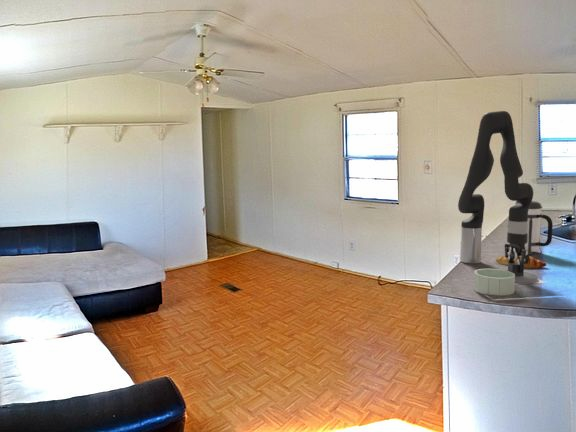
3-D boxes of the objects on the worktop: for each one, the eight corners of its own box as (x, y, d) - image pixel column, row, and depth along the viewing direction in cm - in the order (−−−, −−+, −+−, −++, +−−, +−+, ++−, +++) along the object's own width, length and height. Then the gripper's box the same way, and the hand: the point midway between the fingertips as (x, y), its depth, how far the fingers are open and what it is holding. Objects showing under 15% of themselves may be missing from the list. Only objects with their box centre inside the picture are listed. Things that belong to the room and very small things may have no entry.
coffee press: (512, 255, 223) (515, 197, 218) (508, 249, 238) (510, 194, 233) (551, 257, 217) (554, 197, 213) (543, 250, 232) (546, 194, 228)
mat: (486, 275, 188) (486, 273, 188) (521, 273, 190) (521, 272, 190) (508, 285, 173) (508, 284, 172) (546, 283, 174) (546, 282, 174)
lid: (486, 273, 188) (487, 260, 187) (521, 272, 190) (522, 258, 189) (508, 284, 172) (508, 269, 172) (546, 282, 174) (547, 267, 173)
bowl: (467, 286, 173) (467, 269, 172) (500, 284, 174) (501, 267, 173) (485, 297, 160) (486, 279, 159) (522, 295, 161) (522, 277, 160)
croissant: (494, 271, 206) (492, 259, 202) (497, 258, 213) (496, 245, 209) (545, 277, 194) (544, 263, 190) (547, 262, 200) (547, 249, 196)
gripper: (499, 229, 185) (497, 267, 187) (519, 234, 171) (517, 276, 173) (515, 228, 186) (514, 266, 188) (537, 234, 172) (535, 275, 174)
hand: (515, 270), depth 181 cm, fingers open, 5 cm apart
